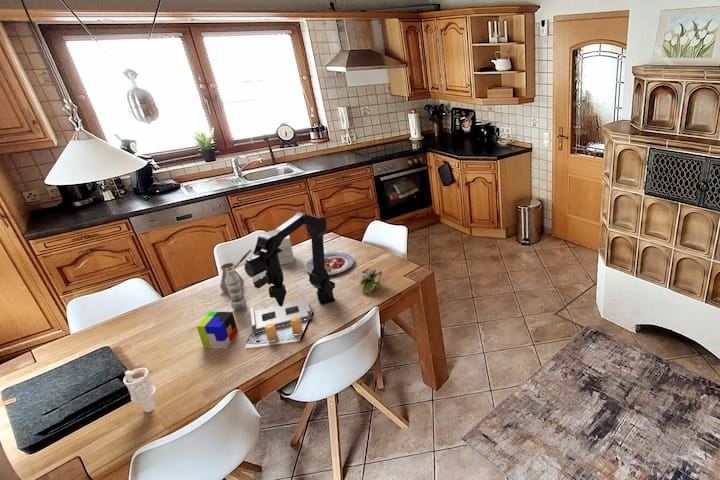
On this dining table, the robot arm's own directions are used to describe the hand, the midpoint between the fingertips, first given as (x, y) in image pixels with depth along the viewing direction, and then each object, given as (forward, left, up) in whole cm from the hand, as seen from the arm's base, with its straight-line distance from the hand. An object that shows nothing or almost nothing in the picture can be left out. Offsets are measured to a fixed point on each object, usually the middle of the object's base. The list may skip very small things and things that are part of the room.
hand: (280, 300), depth 159 cm
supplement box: (-8, -64, -13) cm, 66 cm away
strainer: (+48, +26, -13) cm, 56 cm away
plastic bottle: (+18, -24, -13) cm, 33 cm away
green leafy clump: (-42, -13, -13) cm, 46 cm away
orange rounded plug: (+6, +6, -13) cm, 15 cm away
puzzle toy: (+26, -3, -13) cm, 29 cm away
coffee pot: (+17, -48, -13) cm, 52 cm away
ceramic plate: (-29, -45, -13) cm, 55 cm away
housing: (+1, -8, -13) cm, 15 cm away
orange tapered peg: (-4, +6, -13) cm, 15 cm away
